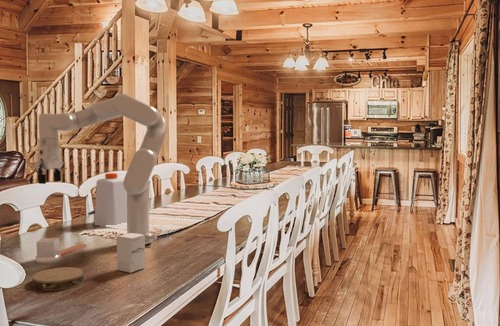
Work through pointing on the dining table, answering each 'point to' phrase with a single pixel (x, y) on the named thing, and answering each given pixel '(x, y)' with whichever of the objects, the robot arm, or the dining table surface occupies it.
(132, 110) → the robot arm
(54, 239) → the white cube
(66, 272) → the tambourine
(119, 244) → the supplement box
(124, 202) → the plastic bottle
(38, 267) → the dining table surface
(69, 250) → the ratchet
